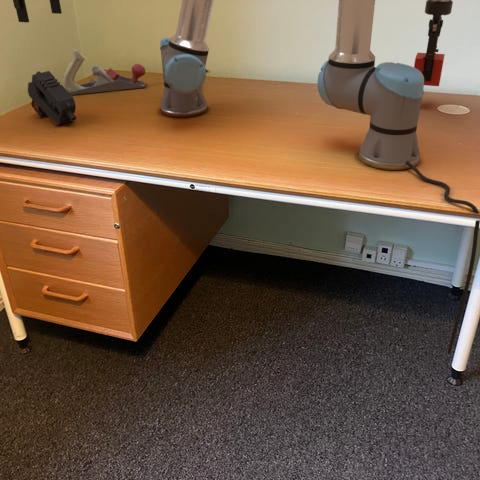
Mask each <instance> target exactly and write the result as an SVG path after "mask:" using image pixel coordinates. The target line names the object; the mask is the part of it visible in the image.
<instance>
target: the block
mask: <svg viewBox="0 0 480 480" xmlns="http://www.w3.org/2000/svg"><path fill="white" fill-rule="evenodd" d="M428 55H431V54H428ZM425 56H426V52H417V53H416V56H415V58H414V63H413V67H414V68H416V69H418V70H419V71H420V72H421V73H422V74H423V69H424V62H425V60H424V59H423V57H425ZM434 56H435V58H434V64H433V70H432V76H431V81H424V86H427V87H428V86H429V87H440V84H441V79H442V72H443V67H444V61H445V56H446V54H445V53H436V54H435V55H434Z"/></svg>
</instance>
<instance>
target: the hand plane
mask: <svg viewBox="0 0 480 480" xmlns="http://www.w3.org/2000/svg"><path fill="white" fill-rule="evenodd" d="M85 59H86V58H85V56H84V55H83V54H82V53H81V52H80V51H79V50H77V49H76V48H73V50H72V58H71V62H70V63H69V65H68V67H67V68H66V70H65V72H64V74H63V80H62V86H63V87H64V88H65V89H66V90H67V91H68V92H69V93H70V94H71V95H72V96H74V95H84V94H94V93H104V92H112V91H113V92H114V91H121V90H132V89H142V88H146V83H145V81H143V80H139V78H142V77H144V76H145V75H146V68H145V66H143V65H141V64H139V63H134V64H133V65H132V66H131V73H132V76H131V78H130V77H126V76H123V75H120V74H119V73H117V72H116V71H114V70H113V69H112V68H111V67H109V68H108V70H107V71H105V70H104V69H103V68H102V67H100V65H94V66H92V68H91V70H90V72H91V75H93V76H94V77H97V78H95V79H90V81H89V82H86V83H80V84H78V83H77V82H76V81H75V78H76V74H77V72H78V71H79V69H80V68H81V66H82V65H83V63H84V61H85Z"/></svg>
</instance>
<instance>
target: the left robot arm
mask: <svg viewBox="0 0 480 480" xmlns="http://www.w3.org/2000/svg"><path fill="white" fill-rule="evenodd" d="M12 3H13V7H14V9H15V11H16V16H17V20H18V23H30V19H29V13H28V10H27V4H26V1H25V0H12ZM214 3H215V0H181V5H180V9H179V14H178V21H177V26H176V30H175V34H174V35H173V36H170V37H163V38H161V40H160V41H159V43H160V44H159V50H160V56H161V66H162V67H161V68H162V79H163V92H162V97H161V102H160V107H159V108H160V113H161V114H162V115H164V116H165V117H171V118H191V117H196V116H199V115H202V114H205V113H206V112H207V110H208V103H207V100H206V98H205V94H204V92H203V89H202V88H203V86H204V83H205V81H206V78H207V72H208V71H209V70H208V69H207V68H206V65H207V60H208V56H209V51H210V47H209V46H208V44H207V43H206V41H207V36H208V31H209V26H210V22H211V17H212V13H213V8H214ZM49 4H50V10H51V14H57V15H58V14H59V15H61V14H62V13H63V12H62V7H61V1H60V0H49ZM206 69H207V70H206Z"/></svg>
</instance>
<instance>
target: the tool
mask: <svg viewBox="0 0 480 480" xmlns="http://www.w3.org/2000/svg"><path fill="white" fill-rule="evenodd" d="M27 93H28V96H29V98H31V103H30V104H31V107H32V108H33V110H34V111H35V113H36V114H37V115H38V116H39V117H40V118H42V117H45V116H47V117H48V118H50V119H51V121H53V123H54V124H55V125H56V126H59V125H62V124H66V123H69V122H74V121H76V120H77V116H76V115H75V113H76V107H77V105H76V102H75V97H73V95H71V94H70V93H69V92H68V91H67V90H66V89H65V88H64V85H63V83H62V84H61V82H60V81H58V79H57V78H56V77H55V76H54V74H53V73H52V72H51V71H50V70H47V71H42V72H41V71H40V70H39V71H36V72H35V74H32V75H31V81H29V82H28V83H27Z"/></svg>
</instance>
